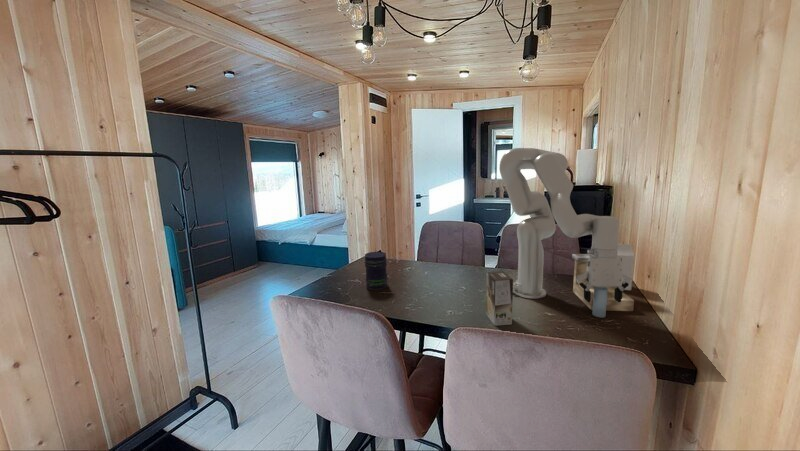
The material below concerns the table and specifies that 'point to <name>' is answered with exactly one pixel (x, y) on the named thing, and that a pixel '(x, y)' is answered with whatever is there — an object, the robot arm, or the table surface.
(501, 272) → the coffee box
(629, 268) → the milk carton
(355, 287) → the table surface
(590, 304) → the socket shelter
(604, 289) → the peg
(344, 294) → the table surface
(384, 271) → the storage jar
